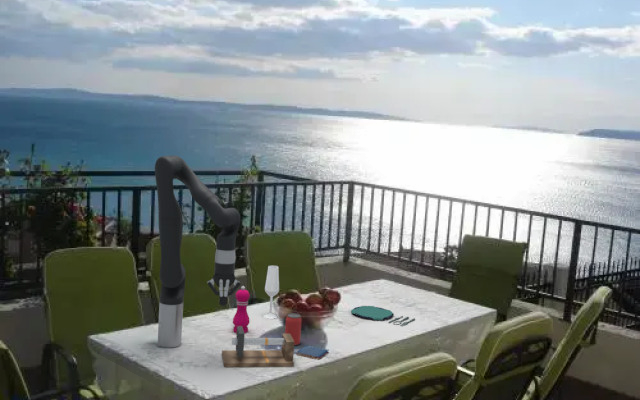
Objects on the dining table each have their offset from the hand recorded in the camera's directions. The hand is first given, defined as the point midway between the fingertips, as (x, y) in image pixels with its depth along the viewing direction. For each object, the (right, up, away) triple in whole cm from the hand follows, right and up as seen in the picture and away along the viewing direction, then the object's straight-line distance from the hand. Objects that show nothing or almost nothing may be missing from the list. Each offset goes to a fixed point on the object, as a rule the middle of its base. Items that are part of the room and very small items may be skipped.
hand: (222, 305), depth 260 cm
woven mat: (+34, -22, +14) cm, 43 cm away
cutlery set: (+67, -18, +74) cm, 101 cm away
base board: (+13, -21, +2) cm, 25 cm away
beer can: (+25, -20, +25) cm, 41 cm away
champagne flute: (+14, -15, +61) cm, 65 cm away
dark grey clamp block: (+6, -18, +1) cm, 19 cm away
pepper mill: (+3, -17, +37) cm, 40 cm away
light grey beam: (+13, -15, +2) cm, 20 cm away
